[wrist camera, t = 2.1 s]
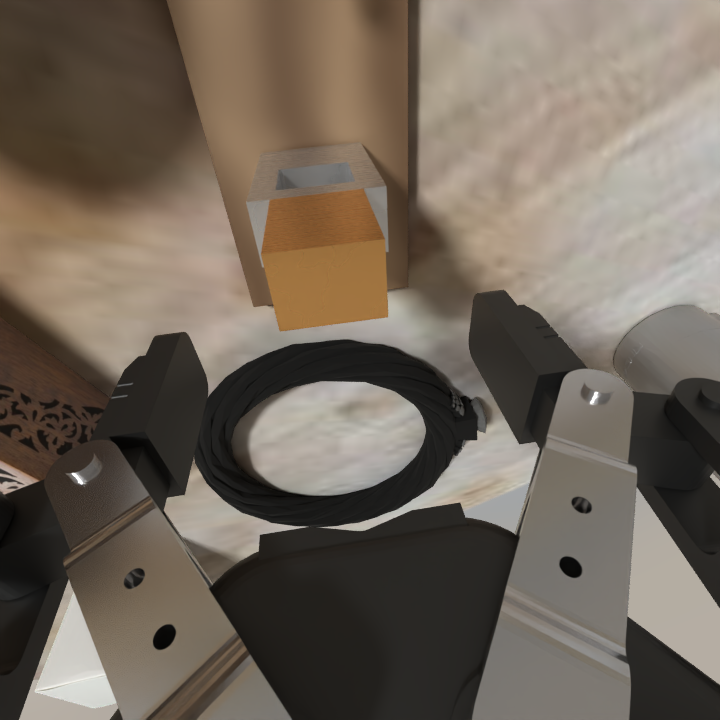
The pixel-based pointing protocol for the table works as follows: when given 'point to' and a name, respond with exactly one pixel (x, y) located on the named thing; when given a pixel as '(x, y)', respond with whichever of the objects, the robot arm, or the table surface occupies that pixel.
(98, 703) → the supplement box
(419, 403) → the cable lock
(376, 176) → the end link
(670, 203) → the table surface
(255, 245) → the board
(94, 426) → the tissue box cover
